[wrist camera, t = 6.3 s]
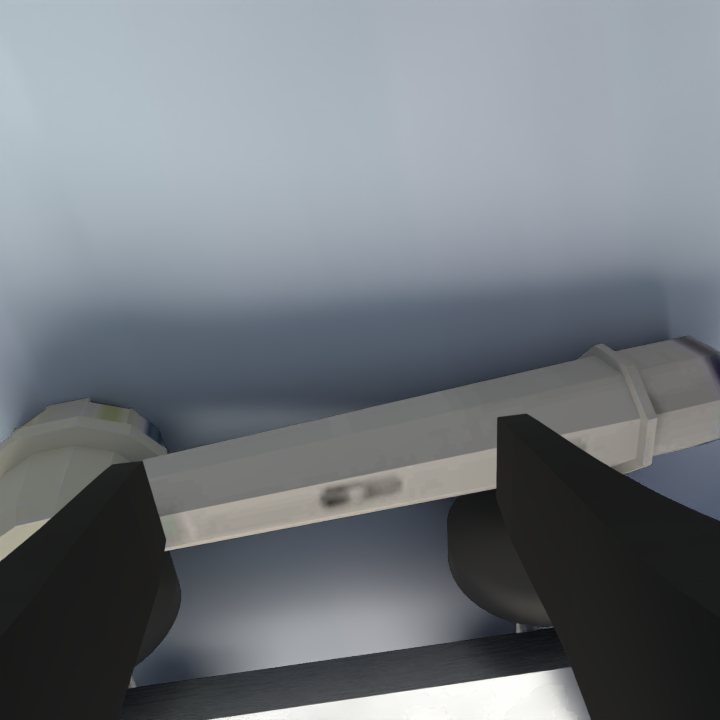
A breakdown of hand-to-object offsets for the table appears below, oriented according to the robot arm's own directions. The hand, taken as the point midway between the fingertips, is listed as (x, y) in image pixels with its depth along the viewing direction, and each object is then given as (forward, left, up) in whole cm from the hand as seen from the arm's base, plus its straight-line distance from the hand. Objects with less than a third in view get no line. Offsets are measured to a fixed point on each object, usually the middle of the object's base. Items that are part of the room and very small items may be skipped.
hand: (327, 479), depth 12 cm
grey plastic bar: (-1, +4, -10) cm, 11 cm away
